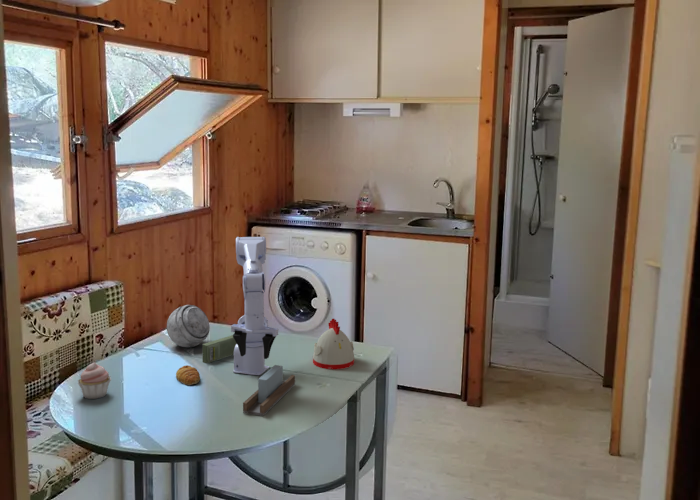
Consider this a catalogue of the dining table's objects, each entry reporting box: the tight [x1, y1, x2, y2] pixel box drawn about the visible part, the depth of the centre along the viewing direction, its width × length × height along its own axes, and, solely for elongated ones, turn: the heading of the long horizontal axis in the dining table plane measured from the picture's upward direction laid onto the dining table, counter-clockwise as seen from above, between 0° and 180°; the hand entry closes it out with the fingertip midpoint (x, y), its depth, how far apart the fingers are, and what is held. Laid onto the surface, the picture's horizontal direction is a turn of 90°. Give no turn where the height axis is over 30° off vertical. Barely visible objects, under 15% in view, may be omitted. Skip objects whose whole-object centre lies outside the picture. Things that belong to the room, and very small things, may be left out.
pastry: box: [175, 364, 201, 386], centre depth 210 cm, size 9×7×4 cm
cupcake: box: [77, 362, 112, 400], centre depth 197 cm, size 9×9×10 cm
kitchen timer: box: [312, 318, 355, 370], centre depth 227 cm, size 14×14×15 cm
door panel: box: [257, 364, 284, 403], centre depth 197 cm, size 2×12×7 cm, turn 164°
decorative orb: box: [166, 304, 211, 348], centre depth 241 cm, size 15×14×15 cm
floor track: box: [242, 374, 296, 417], centre depth 197 cm, size 6×24×3 cm, turn 164°
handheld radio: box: [202, 334, 237, 364], centre depth 235 cm, size 7×3×25 cm
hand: (254, 356), depth 205 cm, fingers open, 7 cm apart
